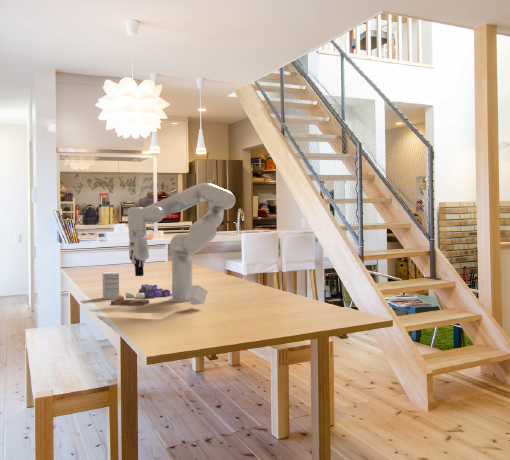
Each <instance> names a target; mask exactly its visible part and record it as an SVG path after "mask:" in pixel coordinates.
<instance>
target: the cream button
mask: <svg viewBox="0 0 510 460" xmlns="http://www.w3.org/2000/svg"><path fill="white" fill-rule="evenodd" d="M135 295H136V296H135V299H136V300H143V299H145V298H146V297H144V293H139V292H137V293H135Z"/></svg>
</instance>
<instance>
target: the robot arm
mask: <svg viewBox="0 0 510 460" xmlns="http://www.w3.org/2000/svg"><path fill="white" fill-rule="evenodd" d="M203 202H208V205H209V206H208V211H207V212H206V213H205V214H204V215H203V216H202V217H200V218H199V219H198V220H196V221H195V222H193V223H192V224H191V225H190V226H189V228H188V233H178V234H176V235H174V236H173V237H172V238H171V240H170V242H169V243H170V244H169V249H170V255H171V256H170V257H171V288H172V289H171V294H172V296H171V298H169V299H168V301H169V302H173V303H186V302H189V301H188V300H186V299H185V297H186V294H187V291H188V288H189V286H193V259H192V255H195V254H196V253H198V252H199V251H201V250H203V248H204V247H206V246H207V245H208V244H209V243H211V241H213V239H215V237H216V235H217V232H218V231H217V230H218V229H217V228H218V227H219V226H220V225H221V224H222V223H223V220H224V214H225V210H230V209H232V208H233V207H234V206H235V204H236V197H235V195H234V194H233V193H232V192H231V191H230V190H227V189H224V188H222V187H219V186H218V185H216V184H213V183H209V182H203V183H198V184H195V185H193V186H190V187H188V188H186V189H183V190H182V191H180V192H176V193H174V194H172V195H170V196H167V197H166V198H163V199H160V200H159V201H155V202H154V203H152V204H150V205H147V206H145V207H142V206H133V207H128V209H127V222H128V223H127V224H128V238H129V240H128V256H129V257H128V258H129V260H130V261H131V264H133V266H134V273H135V277H143V276H144V267H145V263H146V261H147V260H148V259H149V258H150V254H149V244H148V239H147V226H146V225H147V224H156V223H159V222H161V221H162V220H163V219H164V217H166V216H168V215H171V214H176V213H180V212H183V211H185V210H187V209H189V208H191V207H194V206H195V205H198V204H200V203H203Z"/></svg>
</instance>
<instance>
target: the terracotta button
mask: <svg viewBox="0 0 510 460" xmlns="http://www.w3.org/2000/svg"><path fill="white" fill-rule="evenodd" d="M124 299H125V295H124V294H119V295H116V299H115V300H124Z"/></svg>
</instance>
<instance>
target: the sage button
mask: <svg viewBox="0 0 510 460" xmlns="http://www.w3.org/2000/svg"><path fill="white" fill-rule="evenodd" d="M125 299H135V292H126V293H125Z"/></svg>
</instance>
